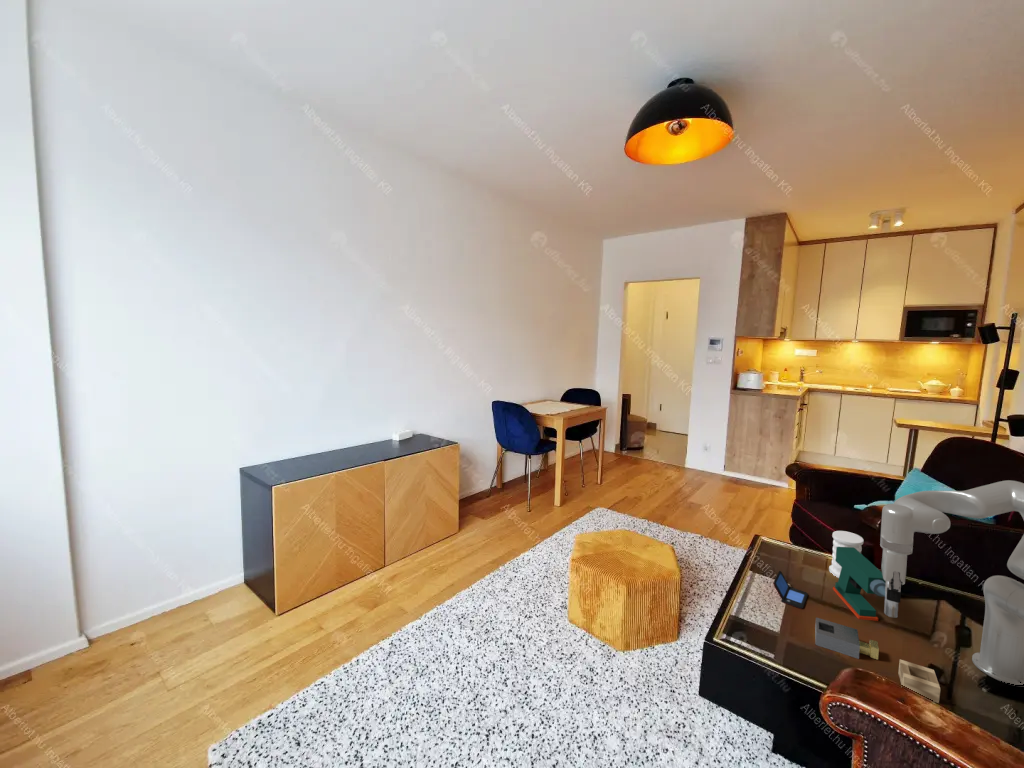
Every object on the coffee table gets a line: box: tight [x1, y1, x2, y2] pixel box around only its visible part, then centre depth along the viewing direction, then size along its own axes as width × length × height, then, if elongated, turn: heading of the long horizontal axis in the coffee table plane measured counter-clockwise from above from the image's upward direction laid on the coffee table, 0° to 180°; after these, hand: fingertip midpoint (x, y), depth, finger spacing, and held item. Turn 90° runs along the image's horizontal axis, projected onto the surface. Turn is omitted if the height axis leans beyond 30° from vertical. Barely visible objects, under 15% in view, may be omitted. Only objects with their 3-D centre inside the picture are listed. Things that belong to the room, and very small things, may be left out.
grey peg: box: [883, 579, 899, 619], centre depth 134 cm, size 3×3×13 cm
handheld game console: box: [772, 570, 809, 610], centre depth 175 cm, size 12×11×7 cm
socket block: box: [814, 617, 860, 660], centre depth 150 cm, size 12×9×5 cm
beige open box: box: [898, 659, 941, 704], centre depth 131 cm, size 8×8×5 cm
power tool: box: [832, 547, 886, 622], centre depth 162 cm, size 32×7×20 cm, turn 168°
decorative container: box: [828, 530, 864, 579], centre depth 188 cm, size 12×12×18 cm
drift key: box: [859, 639, 880, 660], centre depth 147 cm, size 12×4×4 cm, turn 55°
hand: (892, 597), depth 134 cm, fingers closed on grey peg, 3 cm apart
